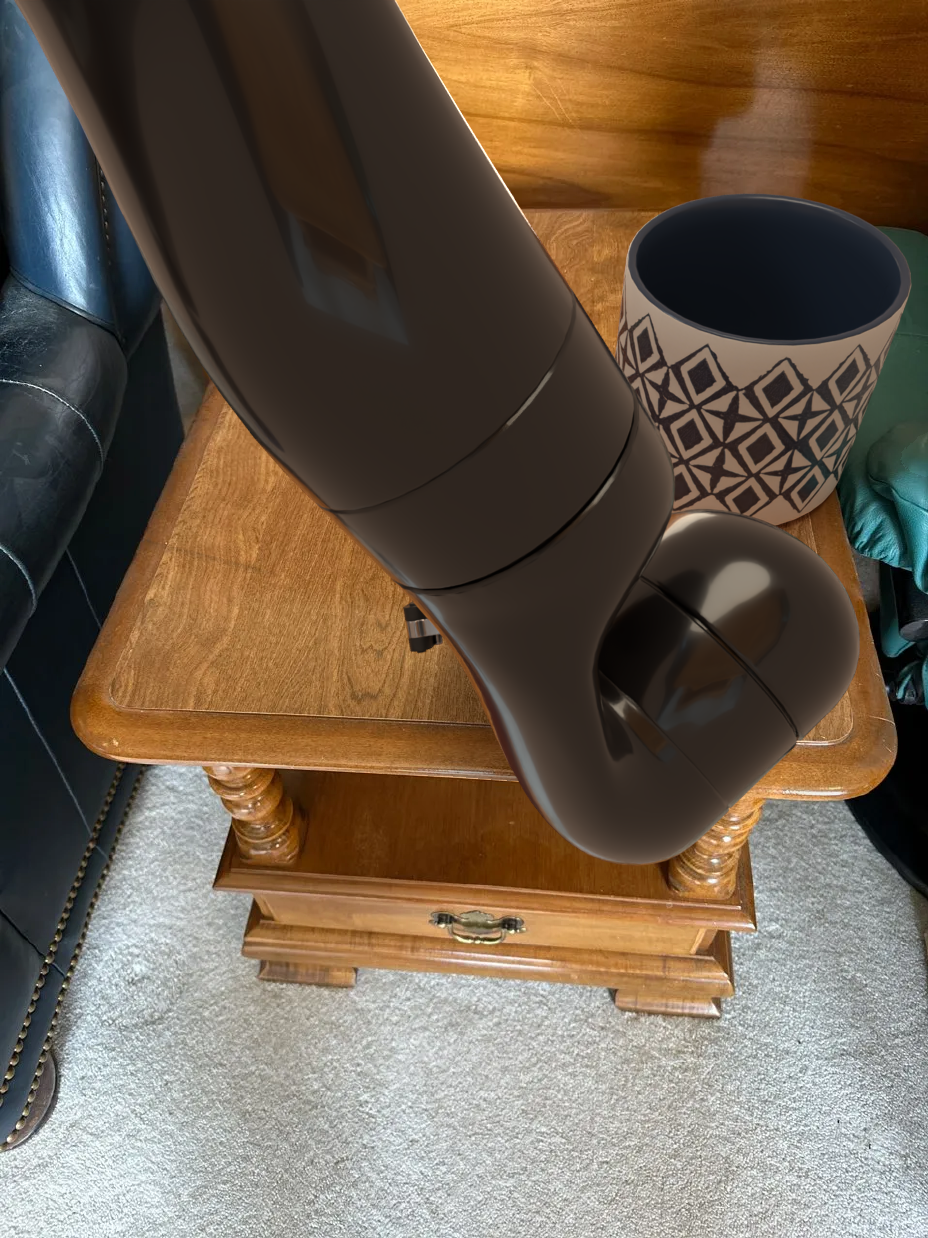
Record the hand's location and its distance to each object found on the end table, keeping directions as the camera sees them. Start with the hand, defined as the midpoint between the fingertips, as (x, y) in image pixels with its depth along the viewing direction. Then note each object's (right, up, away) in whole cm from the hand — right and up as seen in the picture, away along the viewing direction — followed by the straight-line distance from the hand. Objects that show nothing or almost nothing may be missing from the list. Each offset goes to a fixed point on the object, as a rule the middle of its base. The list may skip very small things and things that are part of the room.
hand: (503, 594), depth 60 cm
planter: (+18, +12, +14) cm, 25 cm away
